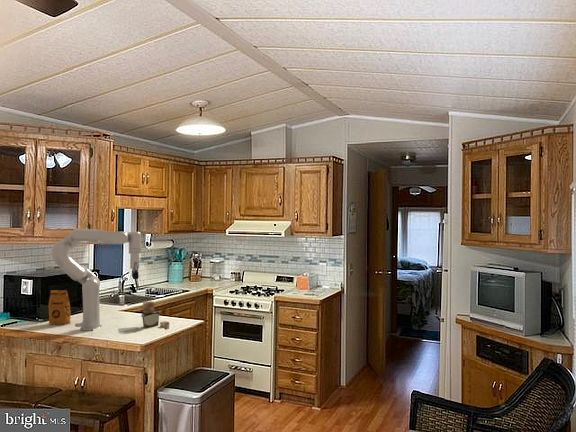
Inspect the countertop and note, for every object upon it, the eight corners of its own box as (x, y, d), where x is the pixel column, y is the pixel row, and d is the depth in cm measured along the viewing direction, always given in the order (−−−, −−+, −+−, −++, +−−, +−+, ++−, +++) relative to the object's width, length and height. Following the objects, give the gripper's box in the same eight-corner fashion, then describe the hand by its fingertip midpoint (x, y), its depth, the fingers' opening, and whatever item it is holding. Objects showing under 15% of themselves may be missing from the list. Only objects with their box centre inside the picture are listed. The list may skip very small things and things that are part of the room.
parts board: (118, 334, 279) (118, 332, 279) (118, 330, 288) (118, 328, 288) (140, 332, 284) (140, 330, 284) (138, 328, 293) (138, 326, 293)
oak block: (163, 329, 290) (163, 323, 290) (160, 328, 293) (160, 322, 293) (169, 328, 293) (169, 322, 293) (166, 327, 296) (166, 321, 296)
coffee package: (64, 326, 302) (64, 291, 302) (46, 325, 304) (46, 291, 304) (73, 322, 312) (73, 289, 312) (55, 322, 314) (55, 288, 314)
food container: (154, 325, 301) (154, 309, 301) (160, 326, 297) (160, 311, 297) (137, 329, 291) (137, 313, 291) (143, 330, 287) (142, 314, 287)
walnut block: (144, 313, 290) (144, 303, 290) (143, 311, 296) (143, 302, 296) (154, 312, 292) (154, 302, 292) (153, 310, 298) (152, 301, 298)
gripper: (127, 250, 308) (128, 276, 308) (129, 252, 292) (129, 279, 292) (139, 250, 311) (140, 276, 311) (142, 251, 295) (142, 279, 295)
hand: (135, 277), depth 302 cm, fingers open, 9 cm apart
